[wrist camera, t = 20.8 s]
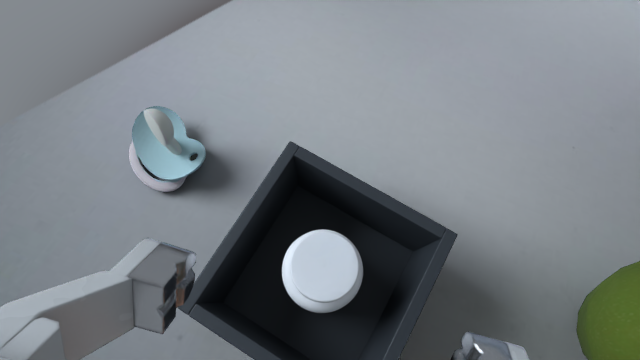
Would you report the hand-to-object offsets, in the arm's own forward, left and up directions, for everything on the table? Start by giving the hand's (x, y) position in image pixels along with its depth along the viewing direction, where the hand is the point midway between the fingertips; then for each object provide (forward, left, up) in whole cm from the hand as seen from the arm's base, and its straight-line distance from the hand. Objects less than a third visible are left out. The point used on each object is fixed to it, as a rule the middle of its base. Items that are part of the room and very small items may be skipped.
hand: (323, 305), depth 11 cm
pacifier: (-18, +4, -20) cm, 27 cm away
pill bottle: (-1, +2, -19) cm, 19 cm away
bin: (-1, +2, -20) cm, 20 cm away
